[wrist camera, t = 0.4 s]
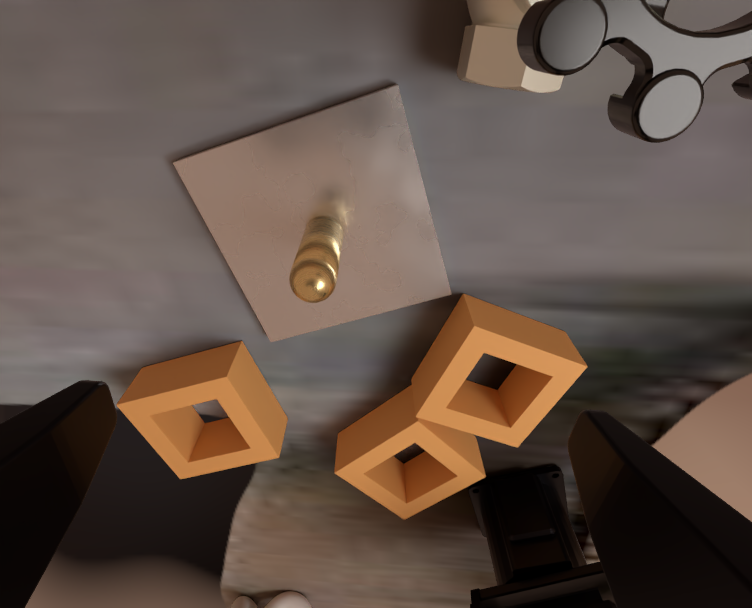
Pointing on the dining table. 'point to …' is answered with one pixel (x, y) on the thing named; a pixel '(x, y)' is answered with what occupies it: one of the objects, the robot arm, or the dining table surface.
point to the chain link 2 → (519, 390)
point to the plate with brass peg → (322, 216)
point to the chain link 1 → (419, 475)
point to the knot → (275, 601)
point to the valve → (584, 41)
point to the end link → (186, 428)
